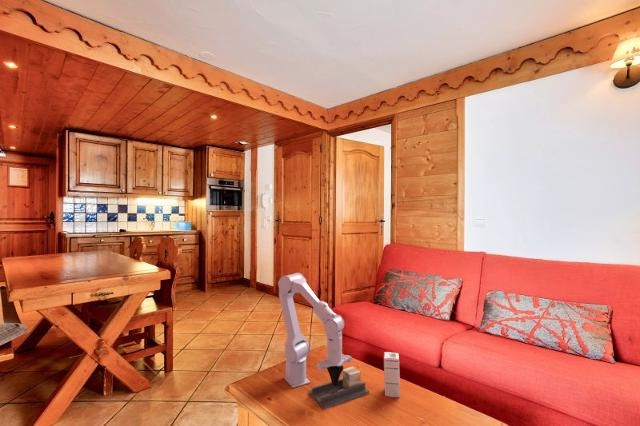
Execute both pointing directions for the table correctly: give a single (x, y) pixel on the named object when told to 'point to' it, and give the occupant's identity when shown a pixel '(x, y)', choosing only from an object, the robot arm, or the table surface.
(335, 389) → the chute
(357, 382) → the block
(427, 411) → the table surface
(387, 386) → the syrup box
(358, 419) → the table surface
